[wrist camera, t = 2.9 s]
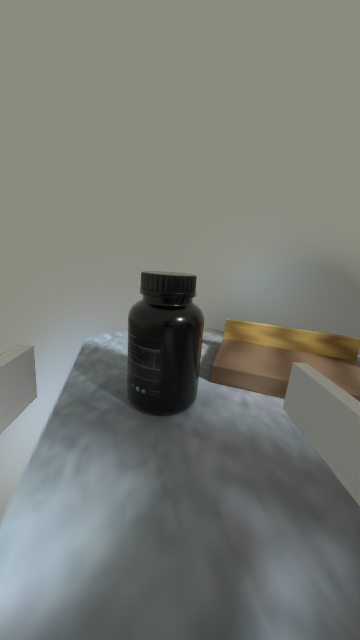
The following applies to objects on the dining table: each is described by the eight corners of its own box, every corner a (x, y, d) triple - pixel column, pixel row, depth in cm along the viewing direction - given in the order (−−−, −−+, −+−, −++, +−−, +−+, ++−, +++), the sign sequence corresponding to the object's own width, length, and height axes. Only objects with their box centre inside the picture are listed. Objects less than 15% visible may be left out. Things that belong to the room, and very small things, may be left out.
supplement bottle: (158, 373, 28) (165, 270, 25) (208, 395, 24) (223, 277, 21) (110, 396, 22) (112, 268, 19) (166, 430, 18) (179, 277, 15)
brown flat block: (349, 371, 33) (358, 337, 32) (398, 423, 22) (416, 375, 21) (222, 348, 38) (226, 318, 37) (210, 381, 27) (215, 340, 25)
